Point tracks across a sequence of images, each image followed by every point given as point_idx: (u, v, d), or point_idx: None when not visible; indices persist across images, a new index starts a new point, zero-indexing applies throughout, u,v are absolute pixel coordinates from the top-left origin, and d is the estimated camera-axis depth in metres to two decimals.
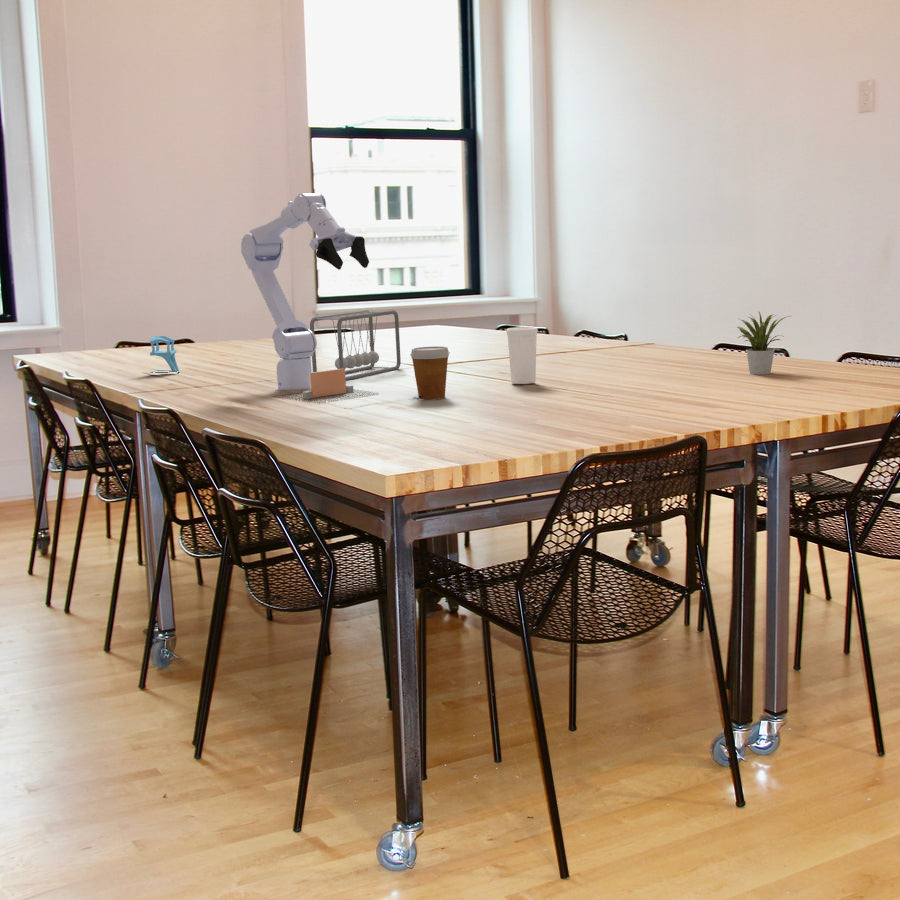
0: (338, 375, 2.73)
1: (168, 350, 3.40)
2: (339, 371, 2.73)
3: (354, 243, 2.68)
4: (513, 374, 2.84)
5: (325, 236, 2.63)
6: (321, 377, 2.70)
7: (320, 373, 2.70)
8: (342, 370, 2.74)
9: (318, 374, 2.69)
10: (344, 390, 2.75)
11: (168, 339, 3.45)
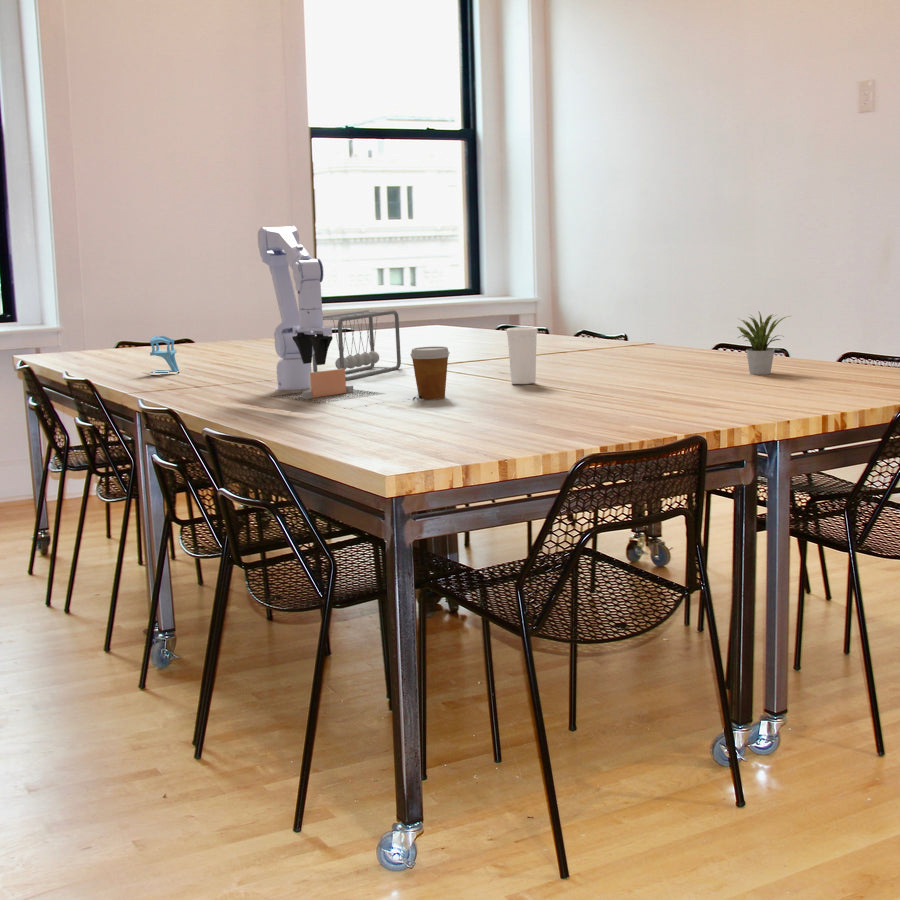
0: (338, 375, 2.73)
1: (168, 350, 3.40)
2: (339, 371, 2.73)
3: None
4: (513, 374, 2.84)
5: (296, 329, 2.75)
6: (321, 377, 2.70)
7: (320, 373, 2.70)
8: (342, 370, 2.74)
9: (318, 374, 2.69)
10: (344, 390, 2.75)
11: (168, 339, 3.45)
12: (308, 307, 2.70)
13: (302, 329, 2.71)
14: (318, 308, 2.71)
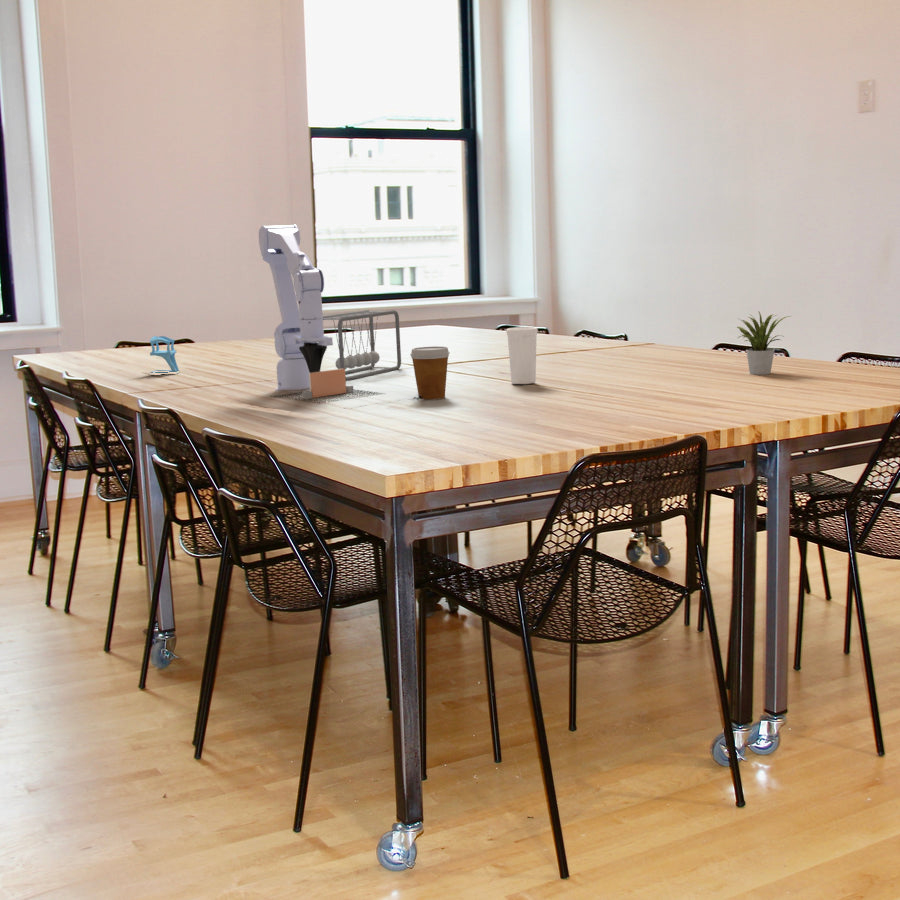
0: (338, 375, 2.73)
1: (168, 350, 3.40)
2: (339, 371, 2.73)
3: None
4: (513, 374, 2.84)
5: None
6: (321, 377, 2.70)
7: (320, 373, 2.70)
8: (342, 370, 2.74)
9: (318, 374, 2.69)
10: (344, 390, 2.75)
11: (168, 339, 3.45)
12: (309, 317, 2.70)
13: (303, 339, 2.71)
14: (319, 318, 2.71)
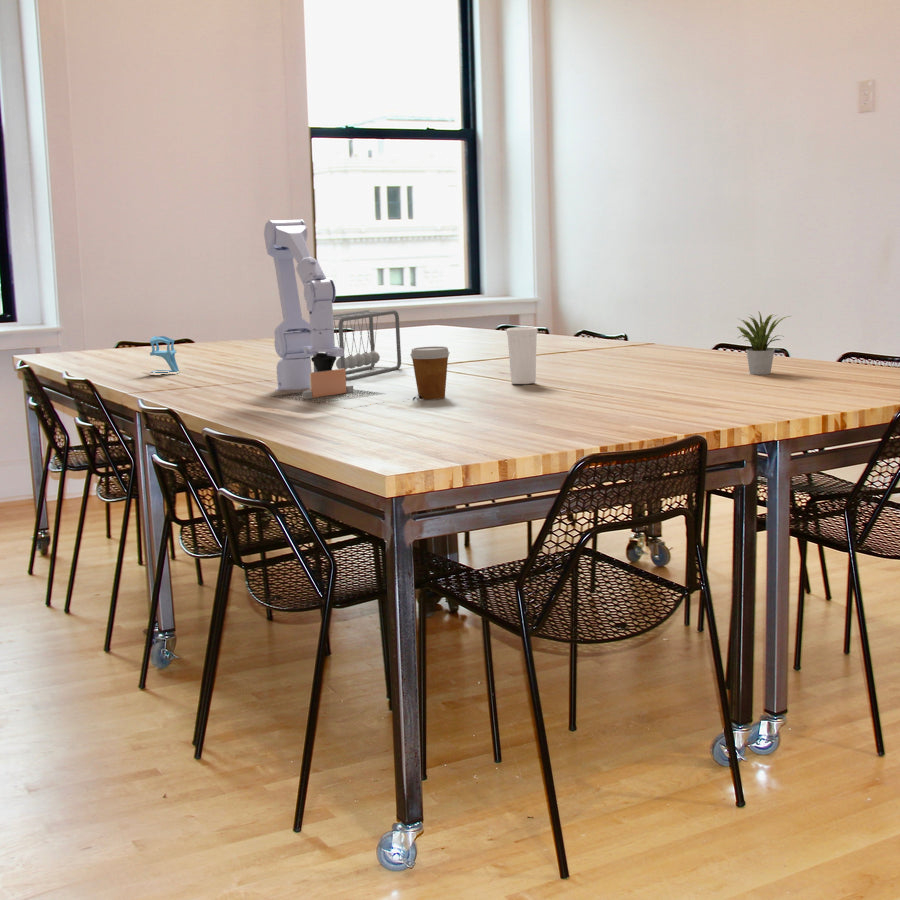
0: (338, 375, 2.73)
1: (168, 350, 3.40)
2: (339, 371, 2.73)
3: None
4: (513, 374, 2.84)
5: (308, 349, 2.73)
6: (321, 377, 2.70)
7: (320, 373, 2.69)
8: (343, 370, 2.74)
9: (318, 374, 2.69)
10: (344, 390, 2.75)
11: (168, 339, 3.45)
12: (320, 327, 2.67)
13: (314, 350, 2.68)
14: (330, 328, 2.68)
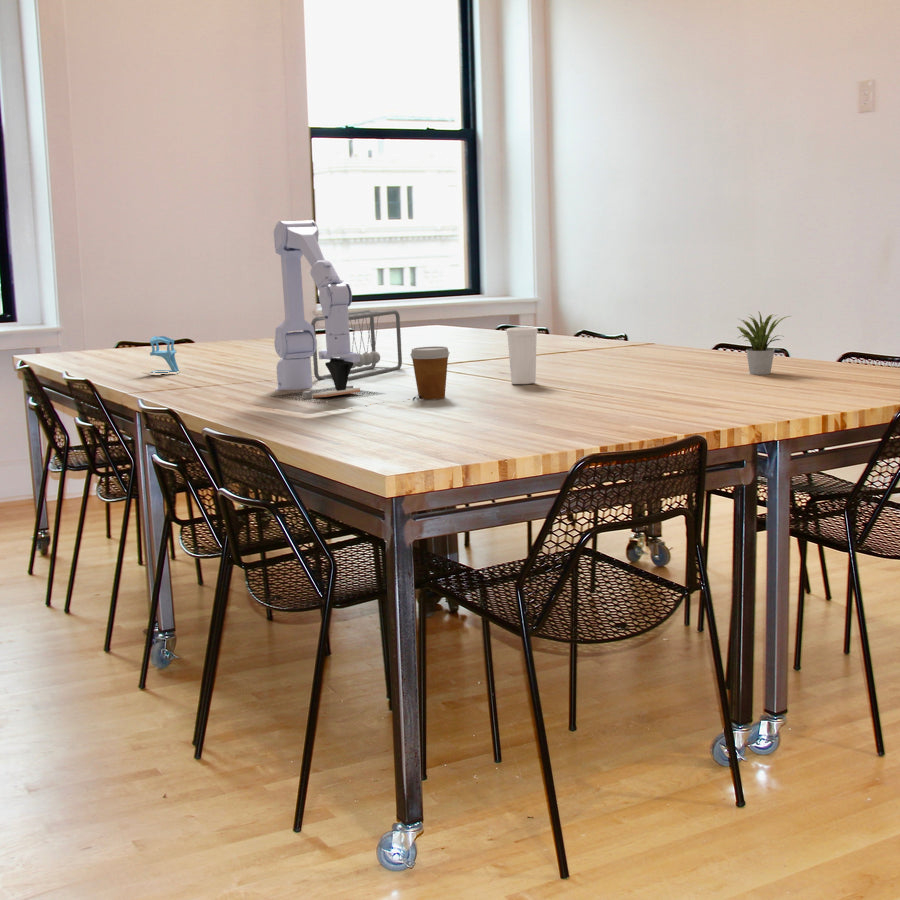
0: None
1: (168, 350, 3.40)
2: (353, 392, 2.70)
3: None
4: (513, 374, 2.84)
5: (323, 354, 2.68)
6: None
7: (334, 395, 2.66)
8: None
9: (332, 395, 2.66)
10: None
11: (168, 339, 3.45)
12: (337, 332, 2.63)
13: (329, 355, 2.63)
14: (346, 333, 2.64)
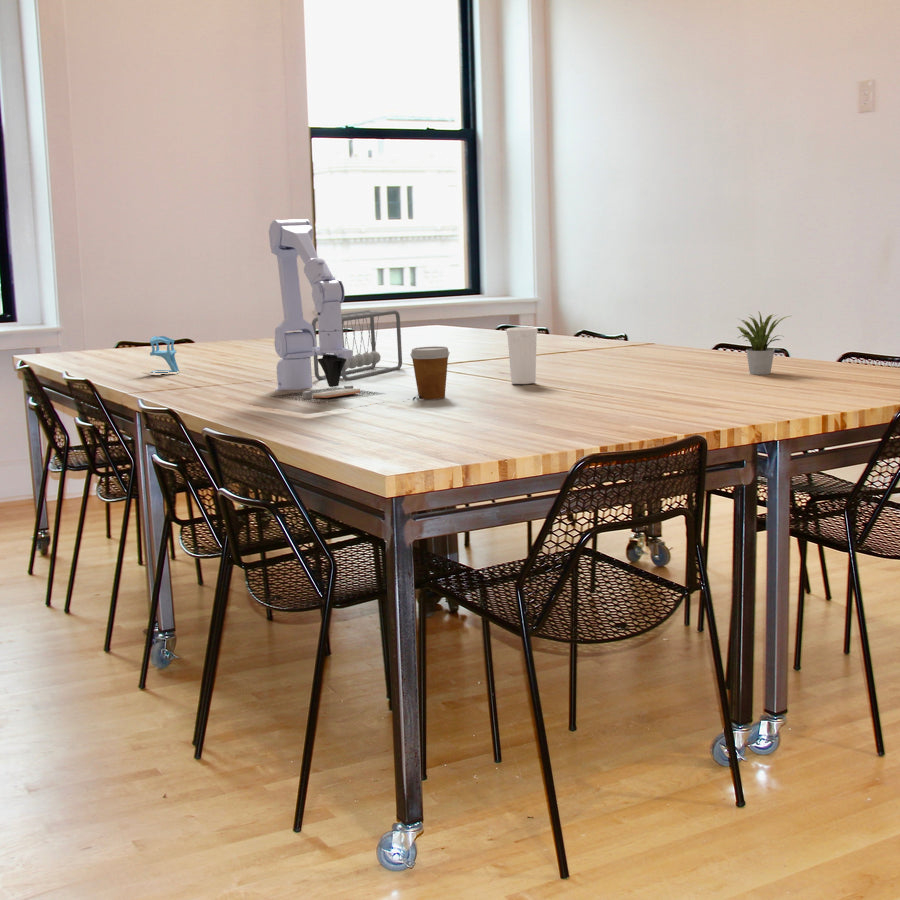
0: None
1: (168, 350, 3.40)
2: (353, 393, 2.70)
3: None
4: (513, 374, 2.84)
5: (316, 350, 2.70)
6: None
7: None
8: None
9: (332, 396, 2.66)
10: None
11: (168, 339, 3.45)
12: (329, 329, 2.65)
13: (322, 351, 2.66)
14: (338, 330, 2.66)
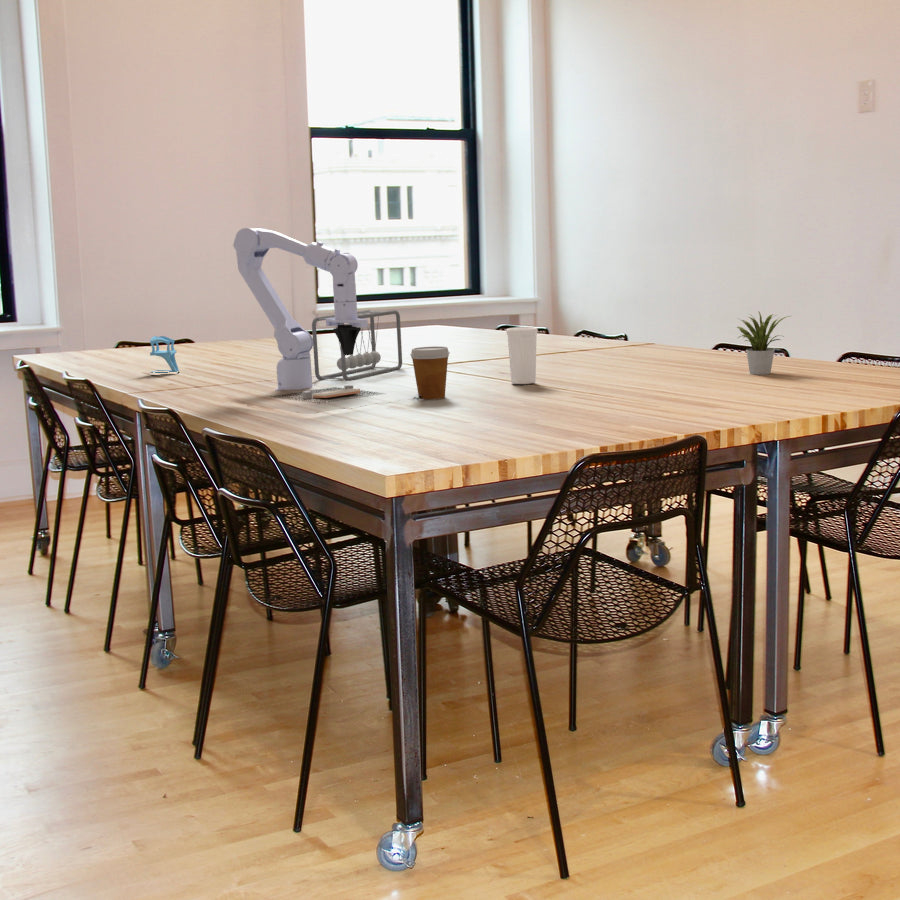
0: None
1: (168, 350, 3.40)
2: (353, 393, 2.70)
3: None
4: (513, 374, 2.84)
5: (331, 321, 2.84)
6: None
7: None
8: None
9: (332, 396, 2.66)
10: None
11: (168, 339, 3.45)
12: (352, 299, 2.80)
13: (338, 321, 2.79)
14: (353, 300, 2.80)
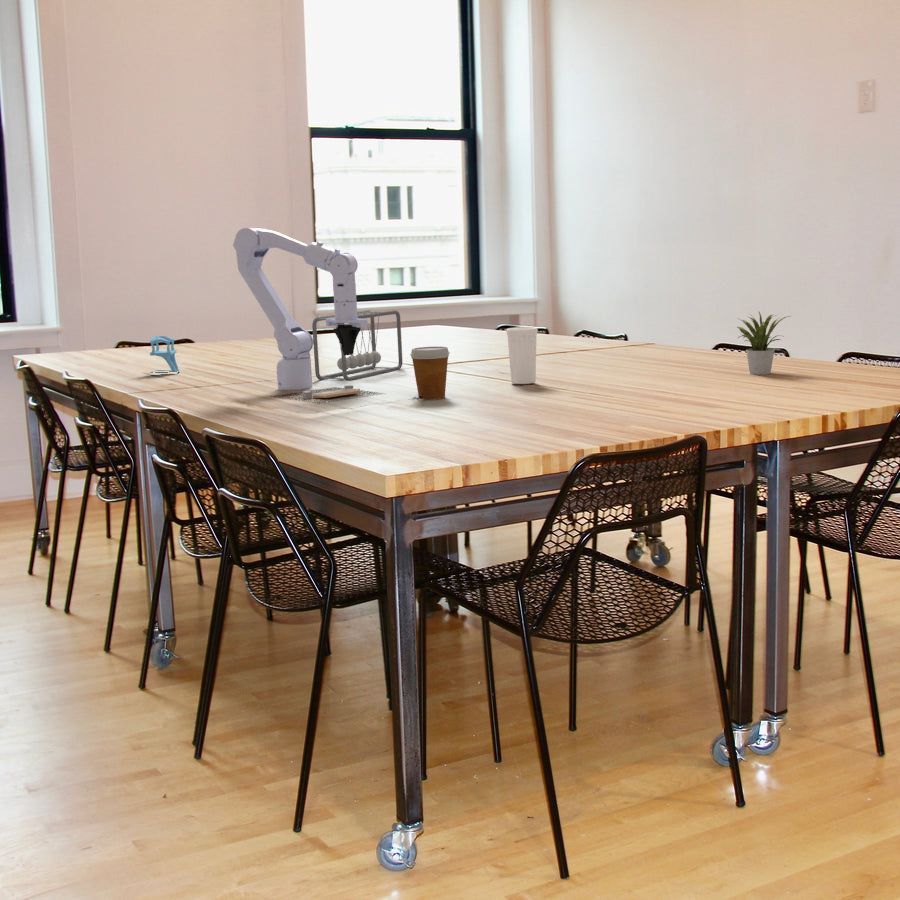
0: None
1: (168, 350, 3.40)
2: (353, 393, 2.70)
3: None
4: (513, 374, 2.84)
5: (331, 321, 2.84)
6: None
7: None
8: None
9: (332, 396, 2.66)
10: None
11: (168, 339, 3.45)
12: (352, 299, 2.80)
13: (338, 321, 2.79)
14: (353, 300, 2.80)
